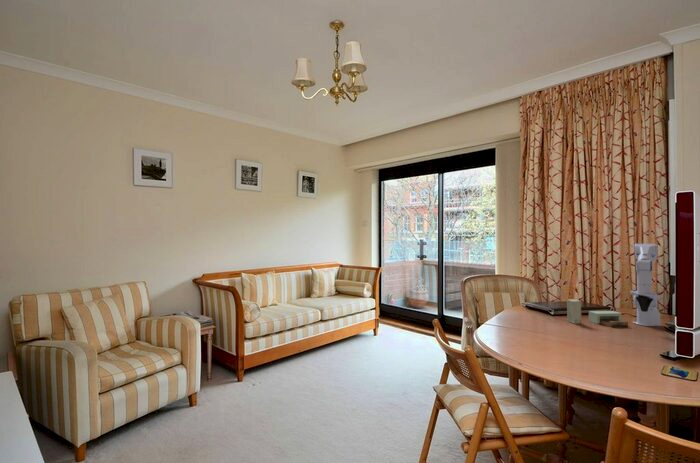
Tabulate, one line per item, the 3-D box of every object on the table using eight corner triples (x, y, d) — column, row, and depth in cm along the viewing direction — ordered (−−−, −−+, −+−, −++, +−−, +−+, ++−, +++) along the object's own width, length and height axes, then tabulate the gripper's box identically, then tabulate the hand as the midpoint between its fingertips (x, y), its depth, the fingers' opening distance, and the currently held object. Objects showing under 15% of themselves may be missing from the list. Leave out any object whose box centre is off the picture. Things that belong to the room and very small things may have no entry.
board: (609, 321, 198) (609, 316, 198) (627, 327, 186) (627, 321, 186) (594, 321, 197) (594, 316, 197) (611, 327, 185) (611, 322, 185)
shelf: (612, 320, 199) (612, 310, 199) (621, 323, 193) (621, 313, 193) (588, 321, 198) (588, 311, 198) (596, 323, 192) (596, 313, 192)
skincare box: (581, 323, 192) (581, 301, 192) (573, 323, 192) (573, 301, 192) (574, 320, 199) (574, 299, 199) (566, 320, 199) (566, 299, 199)
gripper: (624, 282, 185) (624, 308, 185) (650, 286, 171) (650, 314, 171) (637, 282, 185) (637, 308, 185) (663, 286, 171) (663, 314, 171)
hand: (644, 311), depth 178 cm, fingers closed
